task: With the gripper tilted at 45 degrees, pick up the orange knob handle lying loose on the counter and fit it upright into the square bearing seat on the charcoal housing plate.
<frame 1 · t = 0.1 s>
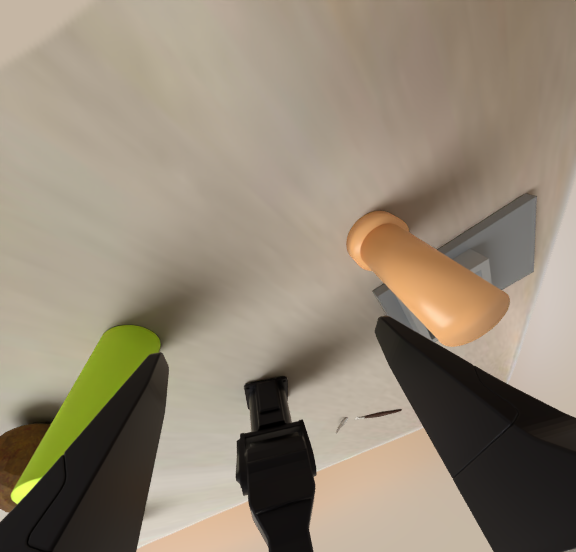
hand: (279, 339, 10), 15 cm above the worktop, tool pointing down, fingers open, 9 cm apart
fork: (367, 413, 51), on the worktop
housing: (433, 290, 33), on the worktop
orange knob handle: (372, 237, 26), on the worktop
soap dispenser: (127, 341, 27), on the worktop
potato: (58, 431, 33), on the worktop
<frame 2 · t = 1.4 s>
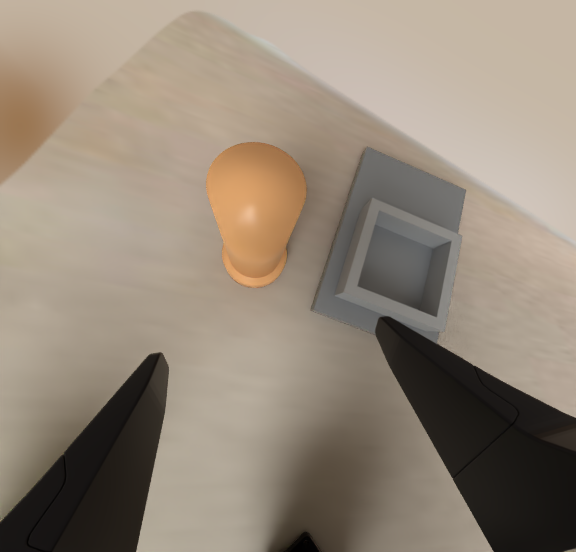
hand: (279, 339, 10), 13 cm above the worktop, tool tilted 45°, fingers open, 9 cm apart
housing: (385, 270, 26), on the worktop
orange knob handle: (254, 258, 24), on the worktop
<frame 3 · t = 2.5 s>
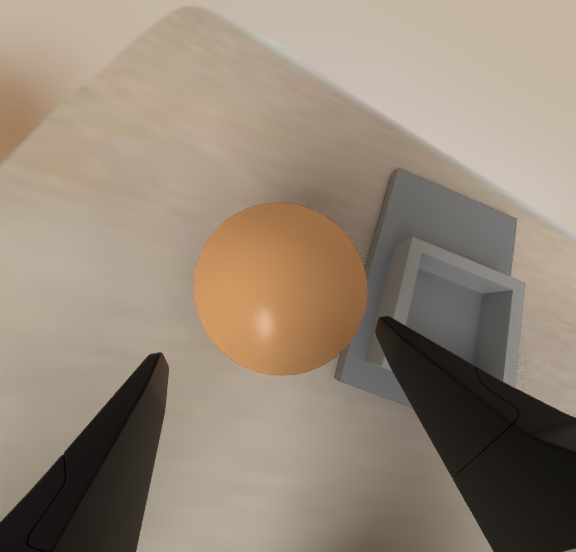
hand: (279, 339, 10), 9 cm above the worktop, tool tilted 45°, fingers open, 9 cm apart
housing: (424, 321, 21), on the worktop
orange knob handle: (263, 311, 19), on the worktop
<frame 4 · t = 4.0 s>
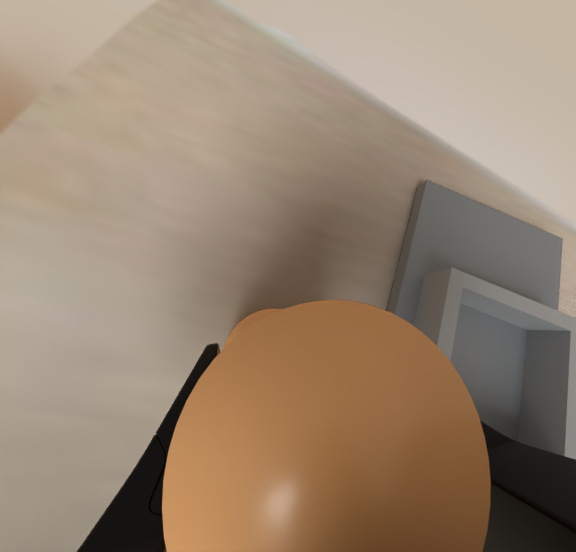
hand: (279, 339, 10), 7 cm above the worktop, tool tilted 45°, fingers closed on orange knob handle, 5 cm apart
housing: (459, 362, 18), on the worktop
orange knob handle: (271, 355, 16), on the worktop, touching gripper
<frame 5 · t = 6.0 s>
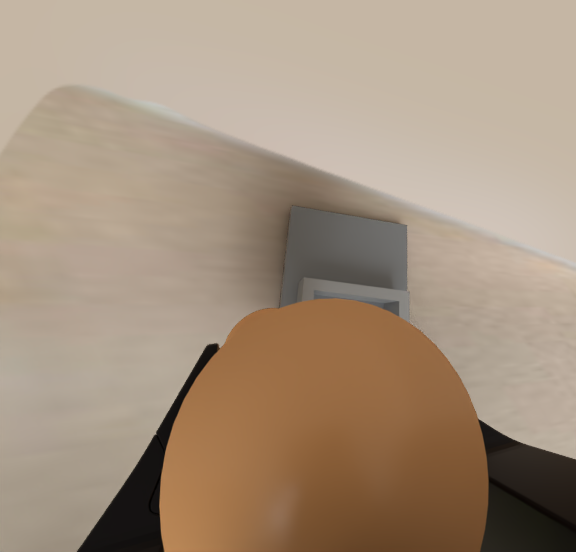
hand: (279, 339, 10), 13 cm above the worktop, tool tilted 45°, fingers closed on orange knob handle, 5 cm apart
housing: (340, 339, 24), on the worktop
orange knob handle: (270, 354, 16), point 7 cm above the worktop, touching gripper
when the fingers open (9 cm above the worktop, at t = 8.1 s): orange knob handle drops 1 cm, resting on housing.
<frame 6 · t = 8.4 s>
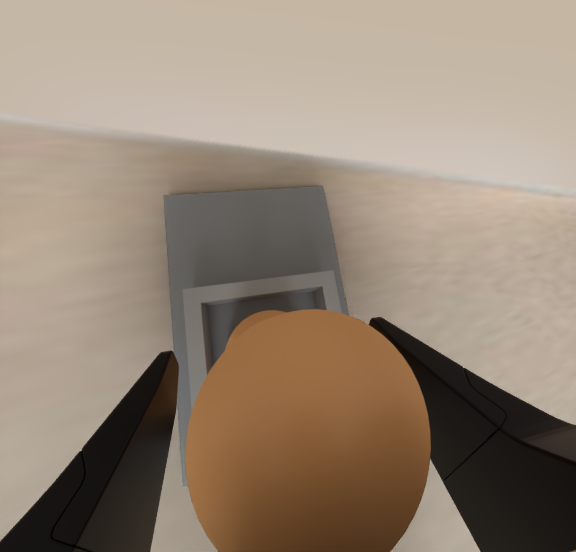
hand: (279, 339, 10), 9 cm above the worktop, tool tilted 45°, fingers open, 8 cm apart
housing: (268, 350, 18), on the worktop
orange knob handle: (269, 353, 17), point 1 cm above the worktop, touching housing
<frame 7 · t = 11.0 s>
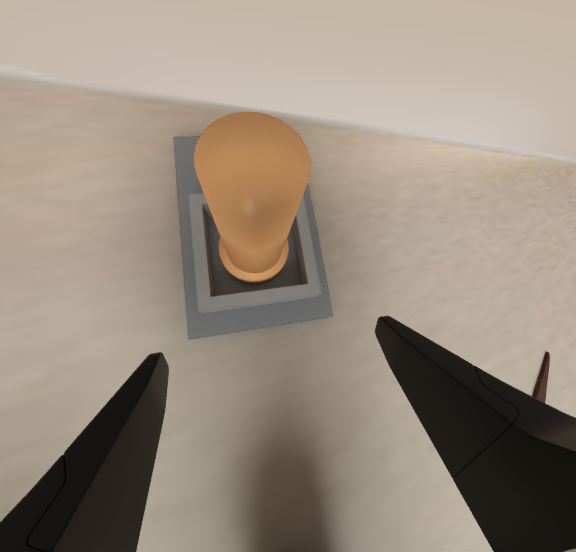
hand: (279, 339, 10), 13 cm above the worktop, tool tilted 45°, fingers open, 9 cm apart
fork: (525, 422, 25), on the worktop
housing: (254, 256, 24), on the worktop
orange knob handle: (254, 253, 22), point 1 cm above the worktop, touching housing
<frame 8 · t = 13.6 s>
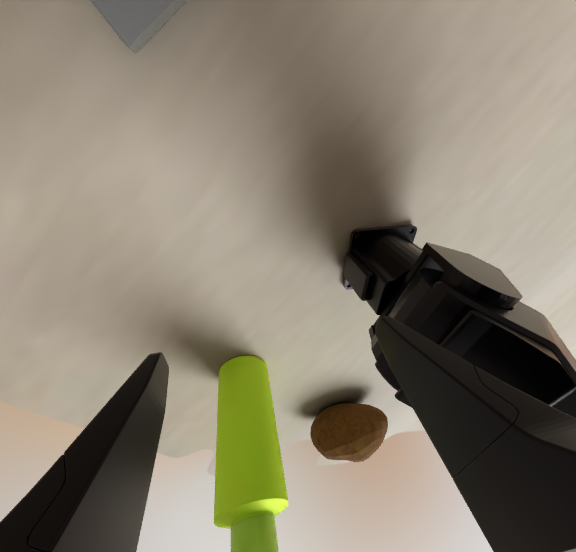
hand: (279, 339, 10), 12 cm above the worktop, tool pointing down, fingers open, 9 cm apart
soap dispenser: (241, 372, 30), on the worktop
potato: (339, 405, 40), on the worktop
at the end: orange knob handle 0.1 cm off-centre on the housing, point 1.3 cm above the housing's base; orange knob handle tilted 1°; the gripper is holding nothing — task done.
